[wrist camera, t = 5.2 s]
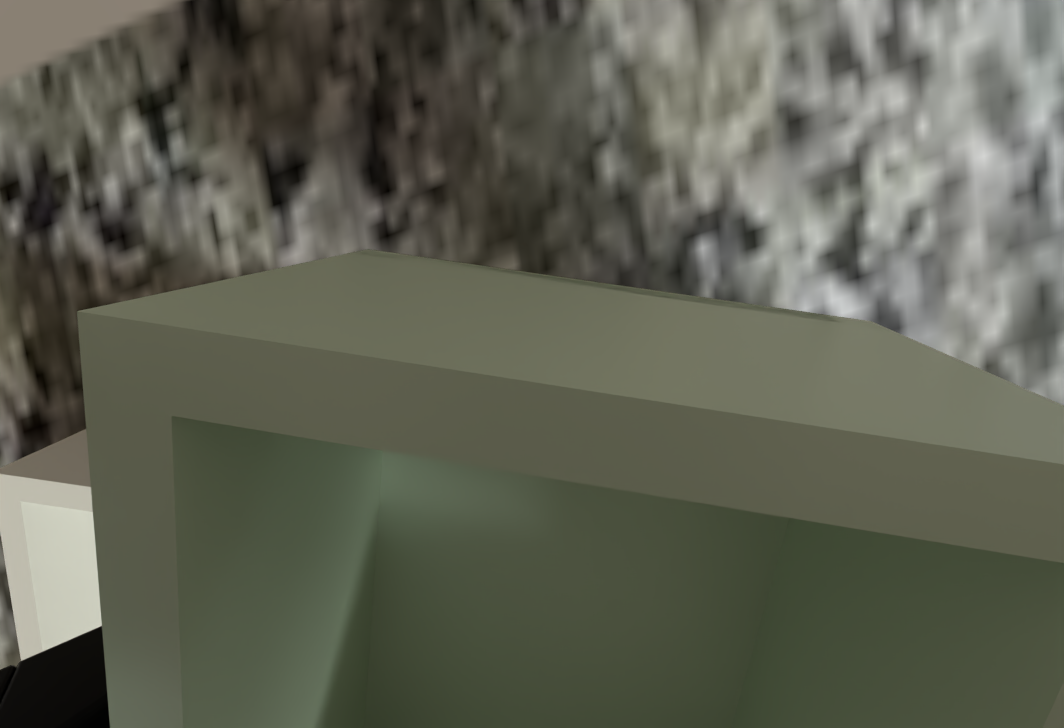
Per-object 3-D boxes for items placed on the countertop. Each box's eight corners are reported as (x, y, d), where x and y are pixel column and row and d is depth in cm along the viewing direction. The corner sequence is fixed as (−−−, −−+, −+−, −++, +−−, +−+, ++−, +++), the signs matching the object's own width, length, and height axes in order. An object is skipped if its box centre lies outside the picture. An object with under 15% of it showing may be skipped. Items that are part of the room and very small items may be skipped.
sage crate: (871, 321, 8) (1269, 496, 3) (726, 819, 11) (835, 1335, 6) (368, 249, 9) (76, 311, 4) (341, 743, 11) (144, 1164, 6)
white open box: (617, 465, 19) (627, 565, 14) (560, 833, 24) (551, 1014, 18) (146, 401, 20) (-9, 472, 15) (175, 765, 25) (63, 918, 20)
